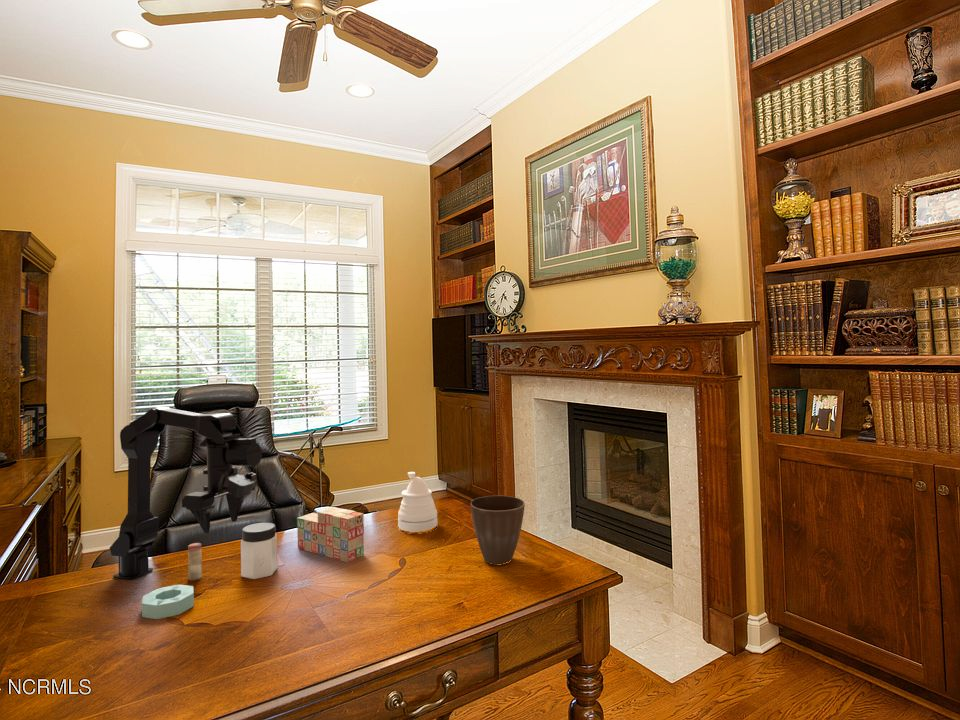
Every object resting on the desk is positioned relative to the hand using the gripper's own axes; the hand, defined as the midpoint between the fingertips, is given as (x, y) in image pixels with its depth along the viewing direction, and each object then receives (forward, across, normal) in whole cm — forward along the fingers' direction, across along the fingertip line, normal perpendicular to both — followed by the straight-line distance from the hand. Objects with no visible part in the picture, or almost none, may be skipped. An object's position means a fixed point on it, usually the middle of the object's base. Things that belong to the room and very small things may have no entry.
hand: (220, 527), depth 133 cm
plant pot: (+14, +32, -63) cm, 72 cm away
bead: (+14, -13, +3) cm, 20 cm away
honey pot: (+15, +54, -30) cm, 63 cm away
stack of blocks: (+15, +27, -14) cm, 34 cm away
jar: (+15, +9, -4) cm, 18 cm away
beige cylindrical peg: (+14, +2, +10) cm, 18 cm away
